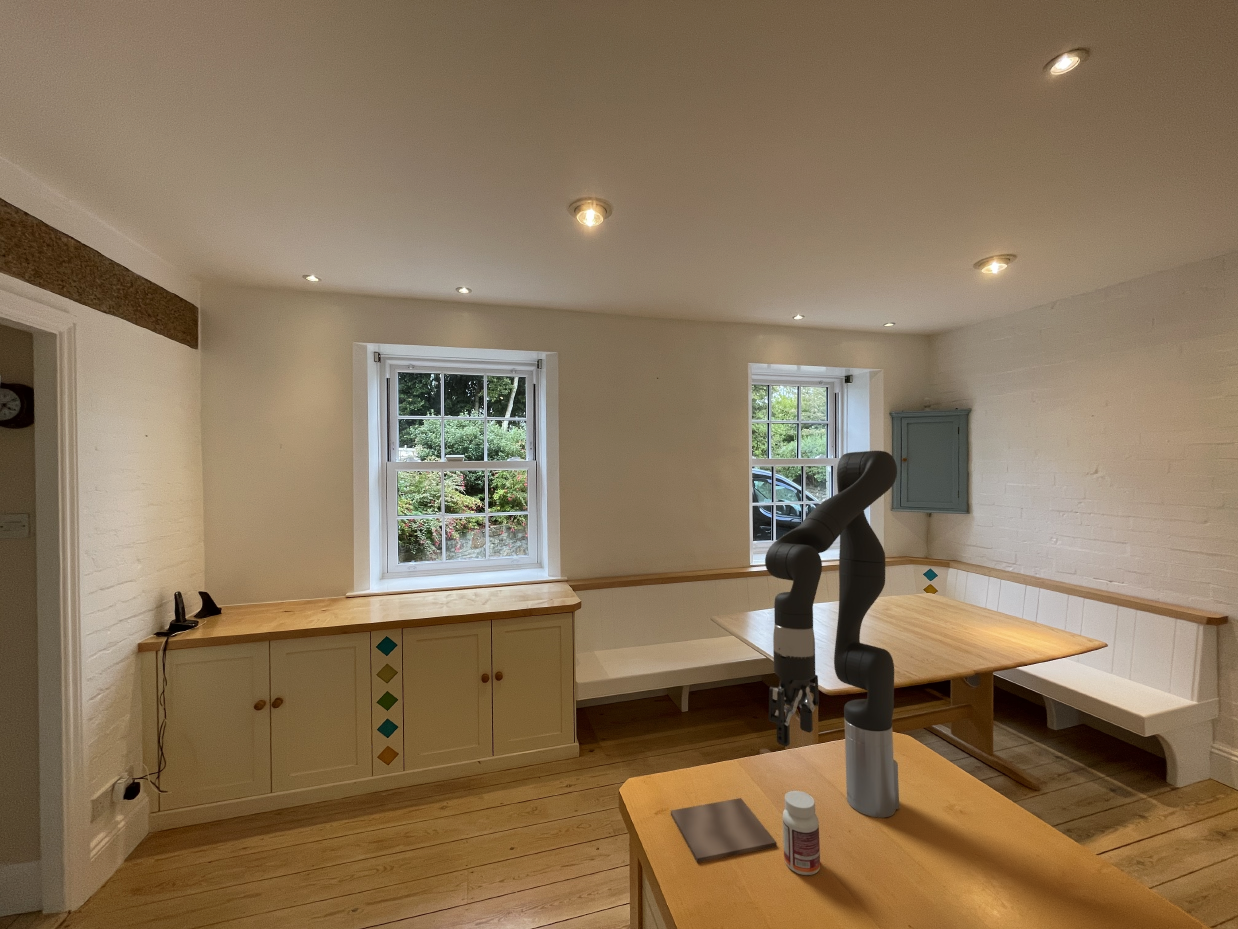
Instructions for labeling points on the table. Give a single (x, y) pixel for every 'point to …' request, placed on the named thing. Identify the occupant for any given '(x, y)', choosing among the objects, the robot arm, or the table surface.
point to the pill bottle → (801, 833)
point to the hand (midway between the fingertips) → (795, 737)
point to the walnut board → (721, 830)
